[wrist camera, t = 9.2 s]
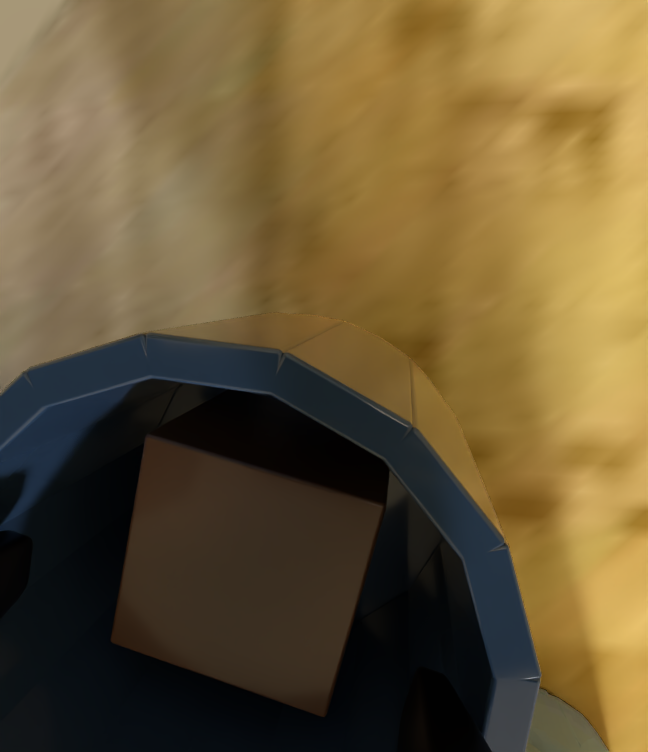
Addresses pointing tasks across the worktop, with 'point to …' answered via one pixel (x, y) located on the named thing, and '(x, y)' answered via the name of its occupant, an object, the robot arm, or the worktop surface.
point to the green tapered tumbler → (561, 728)
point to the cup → (382, 585)
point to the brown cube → (250, 547)
